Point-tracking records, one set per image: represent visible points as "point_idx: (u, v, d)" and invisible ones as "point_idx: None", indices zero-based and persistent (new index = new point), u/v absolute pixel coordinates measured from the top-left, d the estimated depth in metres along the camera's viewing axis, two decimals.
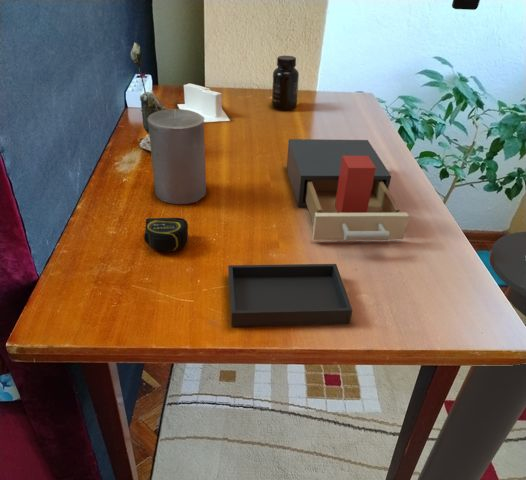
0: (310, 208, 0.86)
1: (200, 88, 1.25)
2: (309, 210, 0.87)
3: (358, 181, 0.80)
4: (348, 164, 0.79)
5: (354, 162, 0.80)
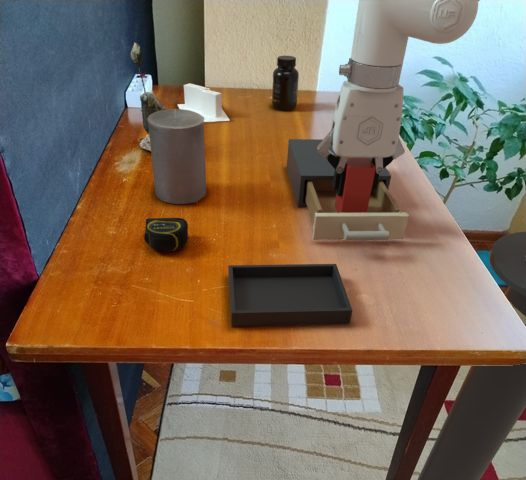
0: (310, 208, 0.86)
1: (200, 88, 1.25)
2: (309, 210, 0.87)
3: (358, 181, 0.80)
4: (348, 164, 0.79)
5: (354, 162, 0.80)
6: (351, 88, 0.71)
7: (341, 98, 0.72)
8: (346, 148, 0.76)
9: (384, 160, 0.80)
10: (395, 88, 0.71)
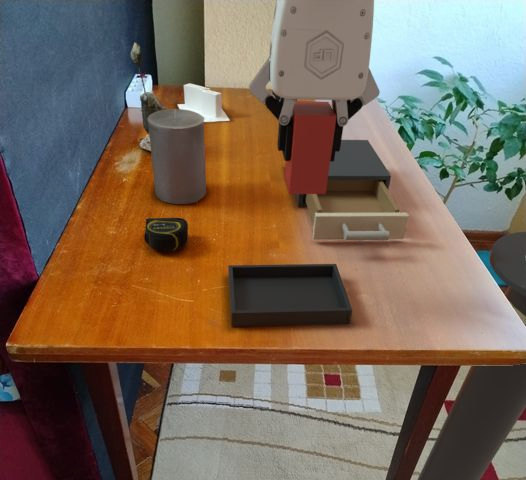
0: (310, 208, 0.86)
1: (200, 88, 1.25)
2: (309, 210, 0.87)
3: (312, 137, 0.54)
4: (295, 111, 0.54)
5: (306, 108, 0.54)
6: None
7: (278, 1, 0.47)
8: (290, 83, 0.50)
9: (350, 106, 0.54)
10: None
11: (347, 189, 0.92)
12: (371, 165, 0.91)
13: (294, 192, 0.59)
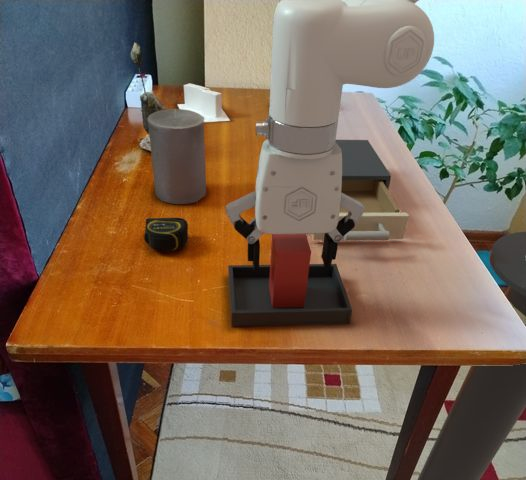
0: None
1: (200, 88, 1.25)
2: None
3: (291, 267, 0.63)
4: (276, 246, 0.62)
5: (285, 242, 0.63)
6: (271, 152, 0.53)
7: (260, 164, 0.55)
8: (272, 224, 0.59)
9: (343, 226, 0.62)
10: (329, 152, 0.53)
11: (347, 189, 0.92)
12: (371, 165, 0.91)
13: (277, 306, 0.68)
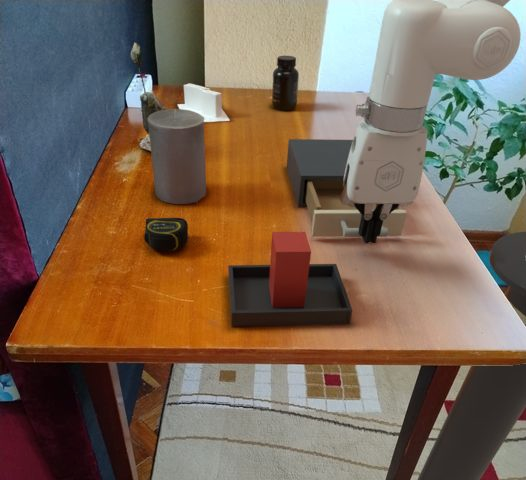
0: (309, 205, 0.87)
1: (200, 88, 1.25)
2: (308, 207, 0.88)
3: (291, 267, 0.63)
4: (276, 246, 0.62)
5: (285, 242, 0.63)
6: (369, 131, 0.63)
7: (358, 141, 0.64)
8: (362, 194, 0.68)
9: None
10: (418, 131, 0.63)
11: None
12: None
13: (277, 306, 0.68)
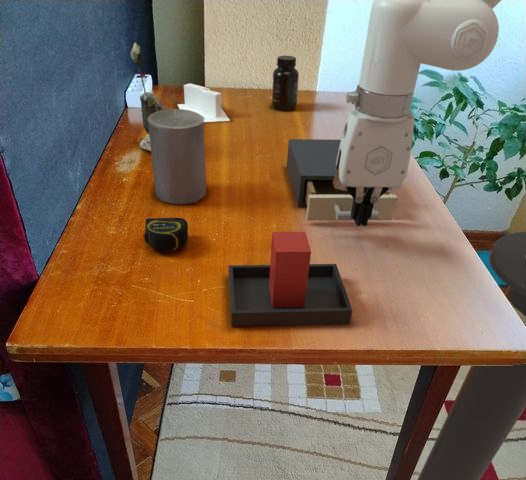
0: (304, 191, 0.91)
1: (200, 88, 1.25)
2: (304, 193, 0.92)
3: (291, 267, 0.63)
4: (276, 246, 0.62)
5: (285, 242, 0.63)
6: (359, 117, 0.67)
7: (348, 127, 0.68)
8: (353, 178, 0.72)
9: None
10: (405, 117, 0.67)
11: None
12: None
13: (277, 306, 0.68)
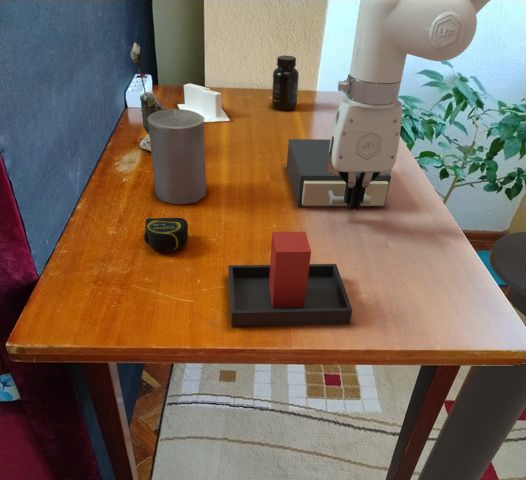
0: None
1: (200, 88, 1.25)
2: None
3: (291, 267, 0.63)
4: (276, 246, 0.62)
5: (285, 242, 0.63)
6: (350, 104, 0.71)
7: (340, 114, 0.72)
8: (345, 163, 0.76)
9: None
10: (394, 104, 0.71)
11: None
12: None
13: (277, 306, 0.68)
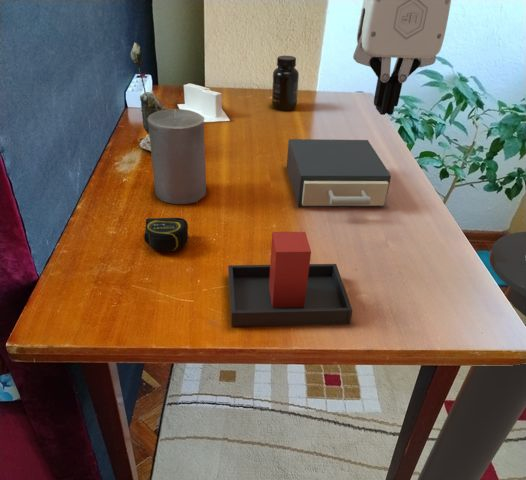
0: None
1: (200, 88, 1.25)
2: None
3: (291, 267, 0.63)
4: (276, 246, 0.62)
5: (285, 242, 0.63)
6: None
7: None
8: (379, 43, 0.60)
9: None
10: None
11: None
12: (371, 165, 0.91)
13: (277, 306, 0.68)
